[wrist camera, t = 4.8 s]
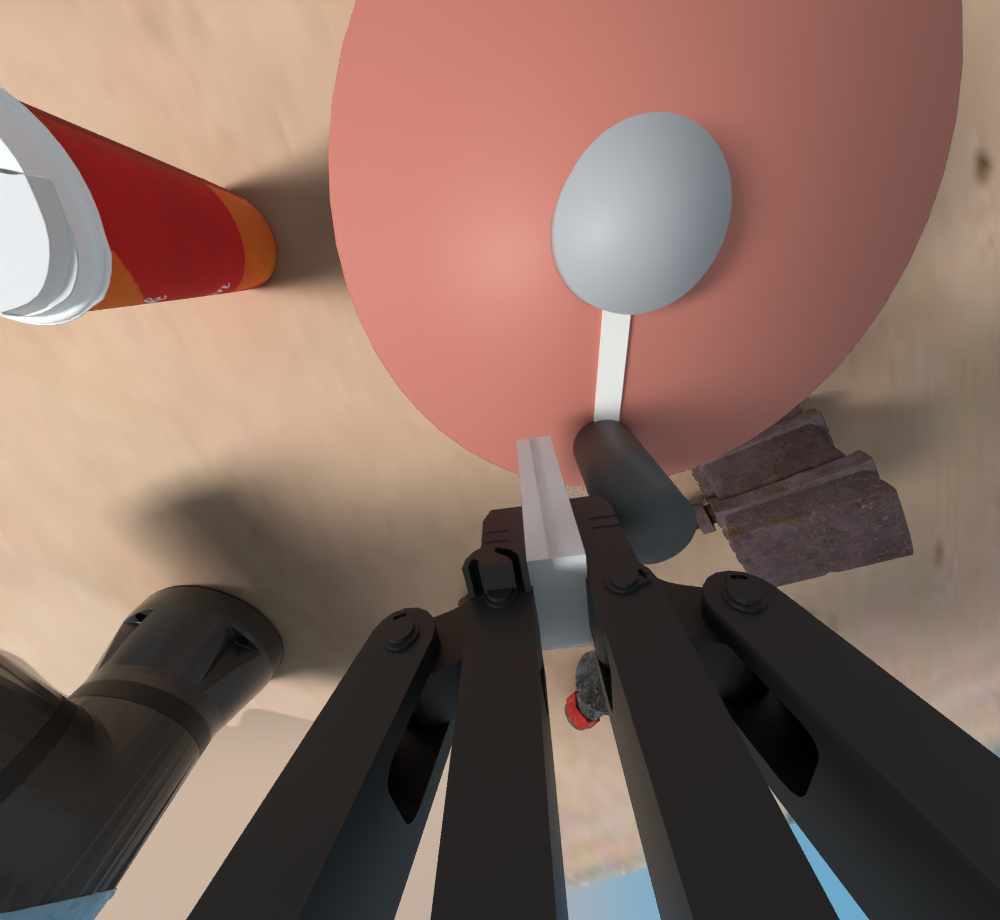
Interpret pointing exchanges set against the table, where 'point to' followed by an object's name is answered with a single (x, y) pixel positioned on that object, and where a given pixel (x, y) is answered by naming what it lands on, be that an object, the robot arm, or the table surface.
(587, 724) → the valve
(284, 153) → the table surface
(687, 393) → the handwheel
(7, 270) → the paper cup
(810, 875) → the robot arm
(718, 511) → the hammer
